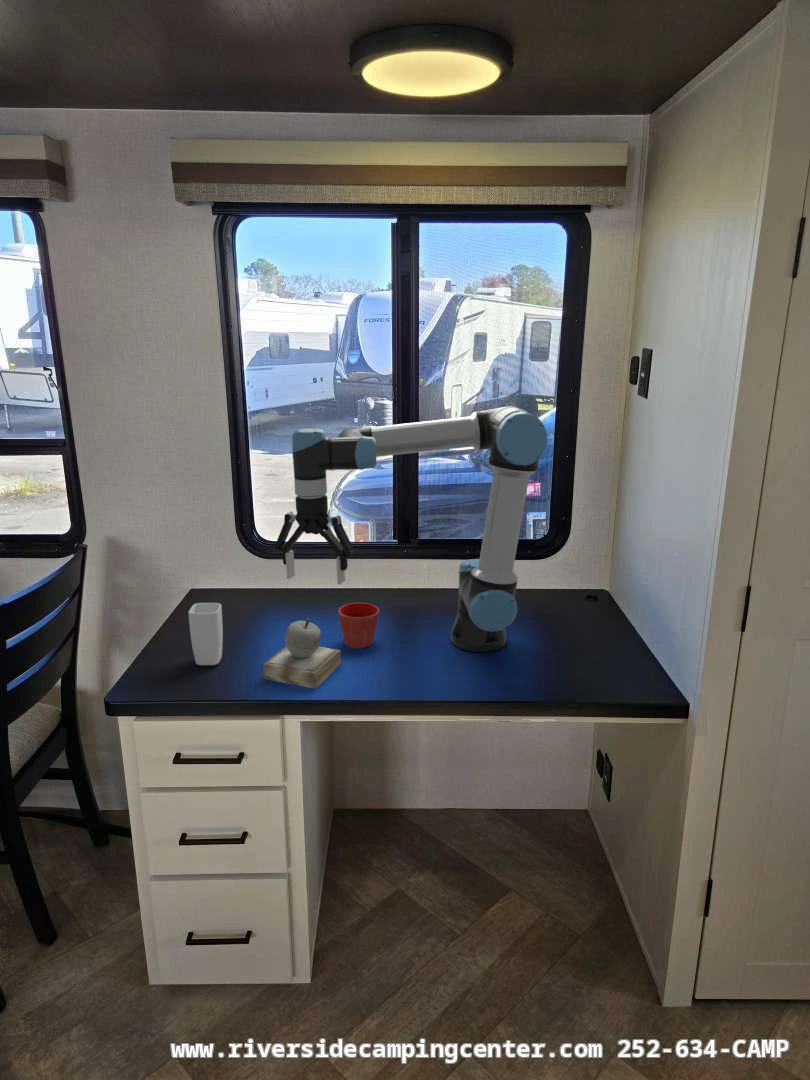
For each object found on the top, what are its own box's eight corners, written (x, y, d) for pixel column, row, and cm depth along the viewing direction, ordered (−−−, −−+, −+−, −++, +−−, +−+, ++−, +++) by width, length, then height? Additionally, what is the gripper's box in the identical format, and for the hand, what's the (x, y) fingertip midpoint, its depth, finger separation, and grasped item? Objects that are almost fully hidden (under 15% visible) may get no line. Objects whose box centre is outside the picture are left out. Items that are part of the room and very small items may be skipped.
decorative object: (281, 651, 184) (280, 615, 182) (315, 646, 188) (314, 609, 185) (291, 666, 177) (289, 628, 174) (326, 660, 180) (325, 622, 177)
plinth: (340, 664, 188) (340, 649, 186) (315, 688, 175) (315, 672, 174) (292, 655, 192) (291, 640, 191) (264, 678, 180) (263, 662, 178)
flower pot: (374, 652, 194) (373, 618, 192) (334, 648, 197) (333, 615, 194) (383, 636, 204) (383, 604, 202) (345, 633, 206) (344, 601, 204)
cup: (198, 656, 192) (193, 602, 187) (226, 655, 192) (222, 602, 188) (191, 668, 185) (186, 613, 180) (220, 668, 185) (216, 613, 181)
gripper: (366, 494, 173) (368, 579, 179) (272, 488, 181) (278, 570, 187) (353, 502, 166) (356, 590, 172) (256, 495, 174) (263, 579, 180)
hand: (315, 579), depth 180 cm, fingers open, 13 cm apart
